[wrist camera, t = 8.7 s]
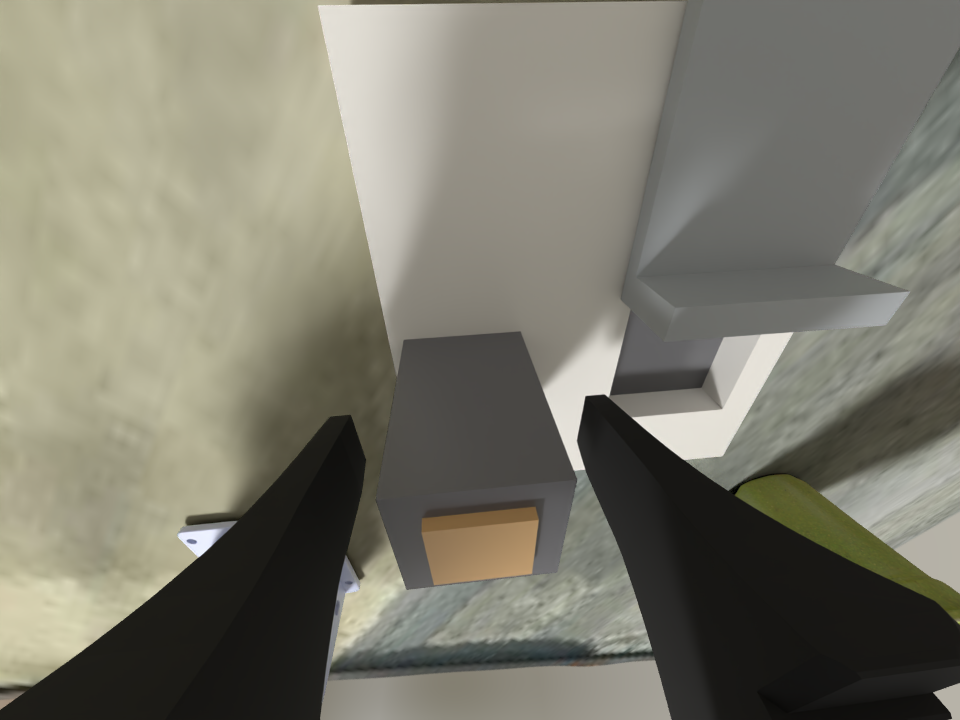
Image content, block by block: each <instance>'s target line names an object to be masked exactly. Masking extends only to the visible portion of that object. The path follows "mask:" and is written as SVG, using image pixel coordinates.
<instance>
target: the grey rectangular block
mask: <svg viewBox="0 0 960 720" xmlns="http://www.w3.org/2000/svg"><path fill="white" fill-rule="evenodd" d="M576 483H577V478H576V475H575V472H574V470H573V467H572V465H571V462H570V459H569V457H568V454H567V451H566V449H565V446H564V444H563V441H562V438H561V436H560V433H559V431H558V428H557V425H556V423H555V420H554V418H553V415H552V412H551V410H550V407H549V404H548V402H547V399H546V397H545V394H544V391H543V389H542V386H541V384H540V381H539V378H538V376H537V373H536V371H535V368H534V365H533V363H532V360H531V357H530V355H529V352H528V350H527V347H526V344H525V342H524V339H523V337H522V334H521V331H519V332H505V333H491V334H477V335H463V336H449V337H435V338H421V339H407V340H404V341H403V346H402V352H401V358H400V363H399V369H398V375H397V380H396V386H395V392H394V397H393V403H392V409H391V415H390V420H389V426H388V432H387V437H386V443H385V449H384V454H383V460H382V466H381V471H380V477H379V483H378V488H377V494H376V503H377V505H378V508H379V511H380V514H381V517H382V520H383V523H384V526H385V529H386V531H387V534H388V537H389V540H390V543H391V546H392V549H393V552H394V555H395V558H396V560H397V563H398V566H399V569H400V572H401V575H402V578H403V581H404V584H405V586H406V589H407V590H409V589H417V588H426V587H435V586H443V585H452V584H461V583H469V582H478V581H487V580H495V579H504V578H513V577H521V576H530V575H539V574H547V573H556V572H557V571H558V566H559V562H560V557H561V552H562V548H563V543H564V539H565V534H566V529H567V525H568V520H569V515H570V511H571V506H572V502H573V497H574V492H575V488H576Z"/></svg>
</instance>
